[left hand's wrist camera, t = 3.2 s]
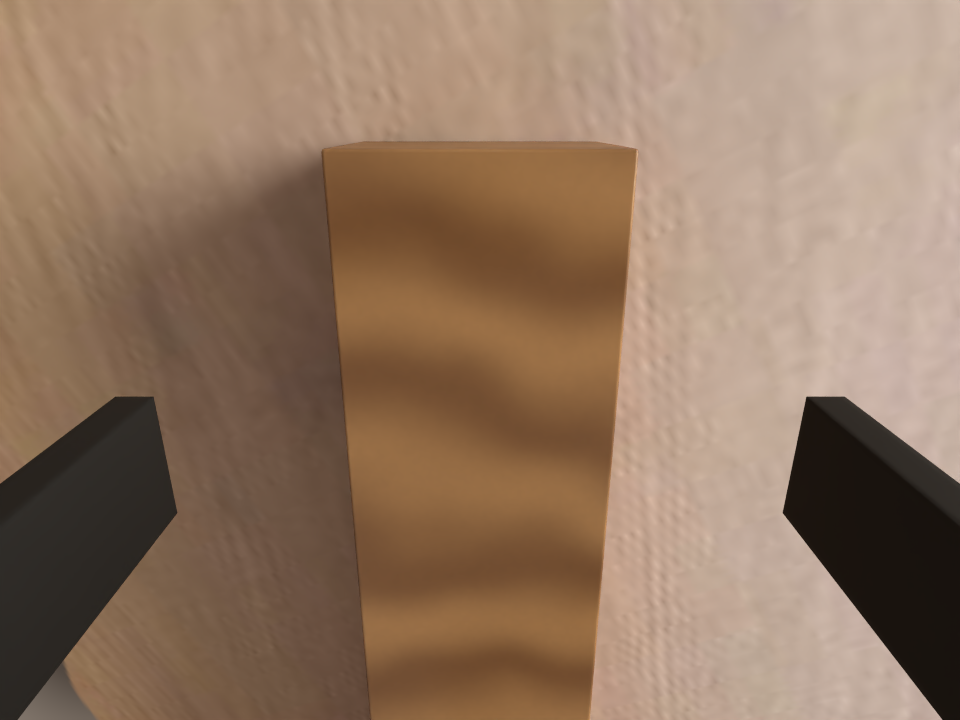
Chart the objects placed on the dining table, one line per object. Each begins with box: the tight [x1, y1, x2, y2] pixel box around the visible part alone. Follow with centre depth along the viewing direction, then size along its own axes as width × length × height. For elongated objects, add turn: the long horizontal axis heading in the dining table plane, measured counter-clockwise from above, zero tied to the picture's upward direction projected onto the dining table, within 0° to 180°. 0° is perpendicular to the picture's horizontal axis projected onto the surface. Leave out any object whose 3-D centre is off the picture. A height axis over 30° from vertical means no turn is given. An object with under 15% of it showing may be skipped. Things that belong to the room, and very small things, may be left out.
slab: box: [322, 142, 638, 720], centre depth 30 cm, size 52×9×7 cm, turn 0°
